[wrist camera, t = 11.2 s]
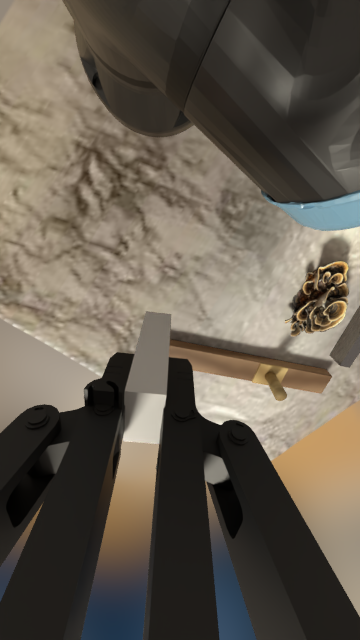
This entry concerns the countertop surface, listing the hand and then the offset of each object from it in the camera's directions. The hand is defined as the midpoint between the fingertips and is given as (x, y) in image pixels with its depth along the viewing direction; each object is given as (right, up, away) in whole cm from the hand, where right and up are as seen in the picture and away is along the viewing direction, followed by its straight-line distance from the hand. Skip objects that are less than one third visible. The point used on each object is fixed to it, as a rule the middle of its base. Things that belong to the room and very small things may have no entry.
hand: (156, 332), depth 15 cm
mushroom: (+22, +5, +24) cm, 33 cm away
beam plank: (+13, -7, +29) cm, 32 cm away
